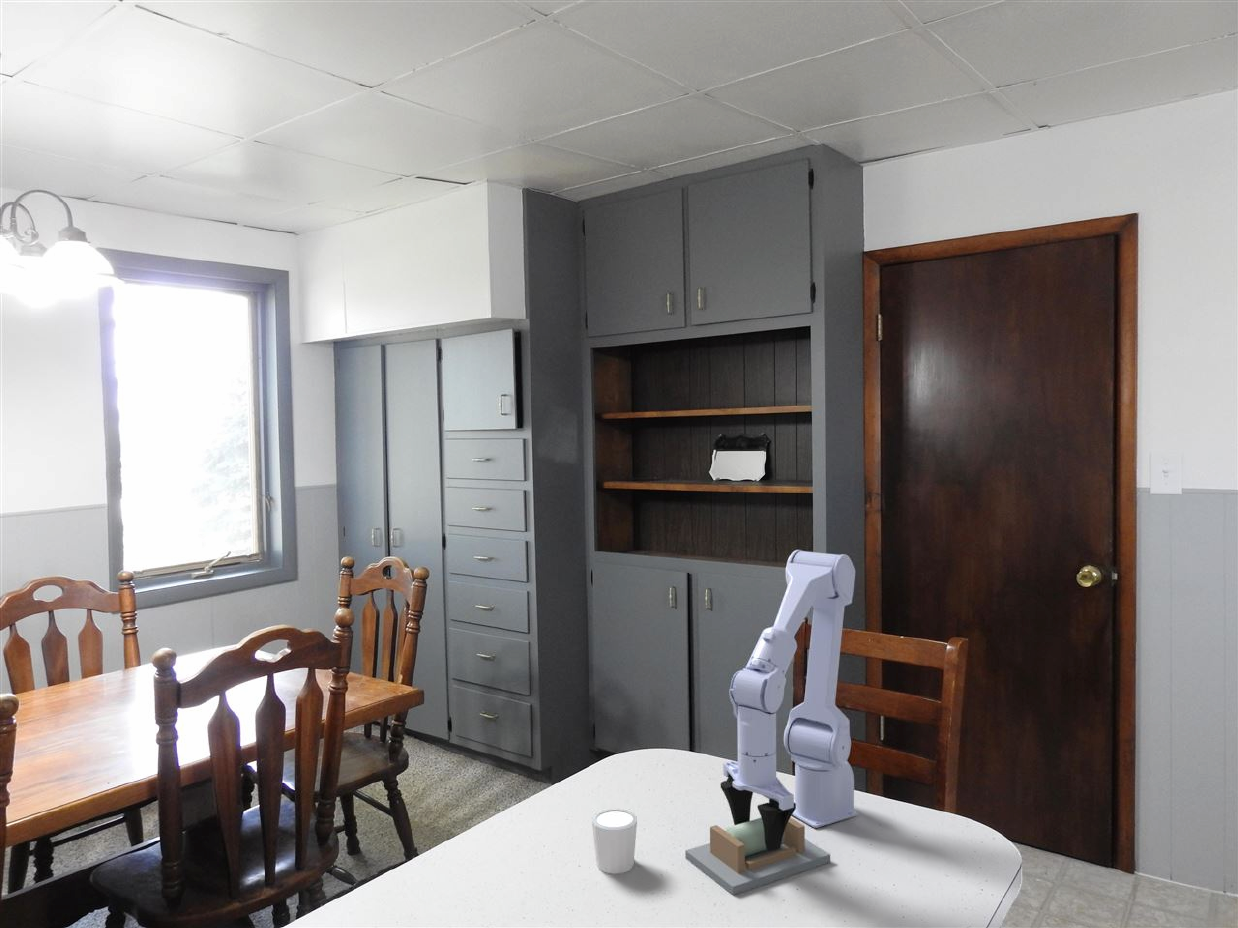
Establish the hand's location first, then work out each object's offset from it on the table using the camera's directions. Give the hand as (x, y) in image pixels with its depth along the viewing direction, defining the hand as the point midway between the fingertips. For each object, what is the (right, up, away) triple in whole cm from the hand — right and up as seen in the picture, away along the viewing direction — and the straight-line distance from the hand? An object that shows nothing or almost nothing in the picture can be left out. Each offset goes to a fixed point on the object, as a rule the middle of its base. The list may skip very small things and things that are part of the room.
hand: (757, 837), depth 133 cm
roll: (0, -2, 0) cm, 2 cm away
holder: (0, -3, 0) cm, 3 cm away
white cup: (-21, -4, 0) cm, 22 cm away
